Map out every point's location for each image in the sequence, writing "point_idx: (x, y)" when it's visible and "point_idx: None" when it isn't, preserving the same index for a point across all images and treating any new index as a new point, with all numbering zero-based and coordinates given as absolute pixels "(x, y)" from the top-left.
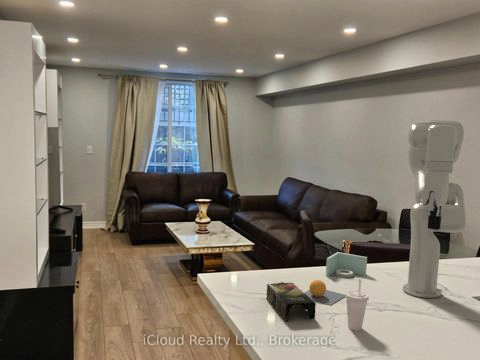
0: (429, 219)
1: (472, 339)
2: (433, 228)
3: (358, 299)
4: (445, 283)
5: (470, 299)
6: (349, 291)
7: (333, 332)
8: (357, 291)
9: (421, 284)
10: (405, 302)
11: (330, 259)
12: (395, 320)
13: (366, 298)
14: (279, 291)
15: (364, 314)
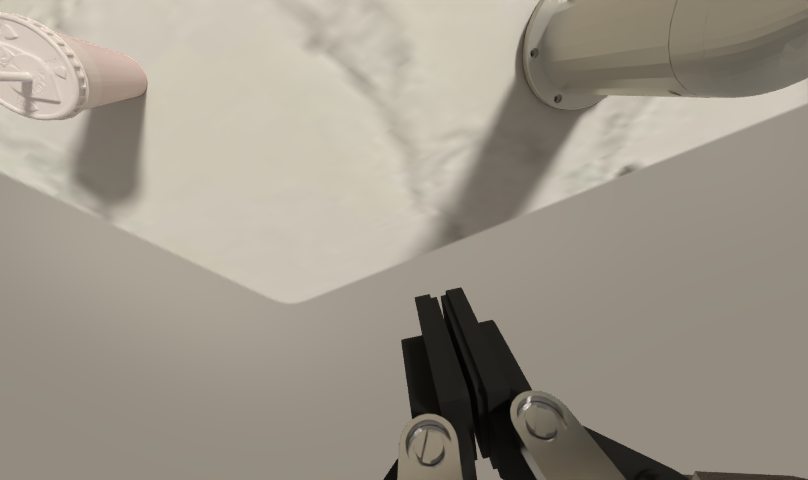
0: (432, 366)
1: (353, 277)
2: (422, 334)
3: (5, 102)
4: None
5: (603, 172)
6: (2, 17)
7: None
8: (49, 44)
9: (559, 60)
10: (446, 60)
11: None
12: (289, 122)
13: (46, 119)
14: None
15: (110, 102)
